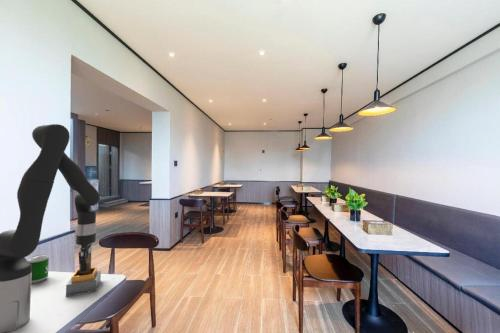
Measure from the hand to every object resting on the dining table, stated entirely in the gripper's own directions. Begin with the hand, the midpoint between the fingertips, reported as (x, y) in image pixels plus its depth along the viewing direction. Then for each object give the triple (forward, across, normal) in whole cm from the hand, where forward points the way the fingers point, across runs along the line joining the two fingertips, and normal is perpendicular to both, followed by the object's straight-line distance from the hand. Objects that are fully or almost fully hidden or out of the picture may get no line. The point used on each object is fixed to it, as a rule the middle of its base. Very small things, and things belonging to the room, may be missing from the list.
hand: (85, 269), depth 104 cm
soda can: (+9, +18, +23) cm, 31 cm away
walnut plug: (+1, 0, 0) cm, 1 cm away
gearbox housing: (+9, 0, 0) cm, 9 cm away
